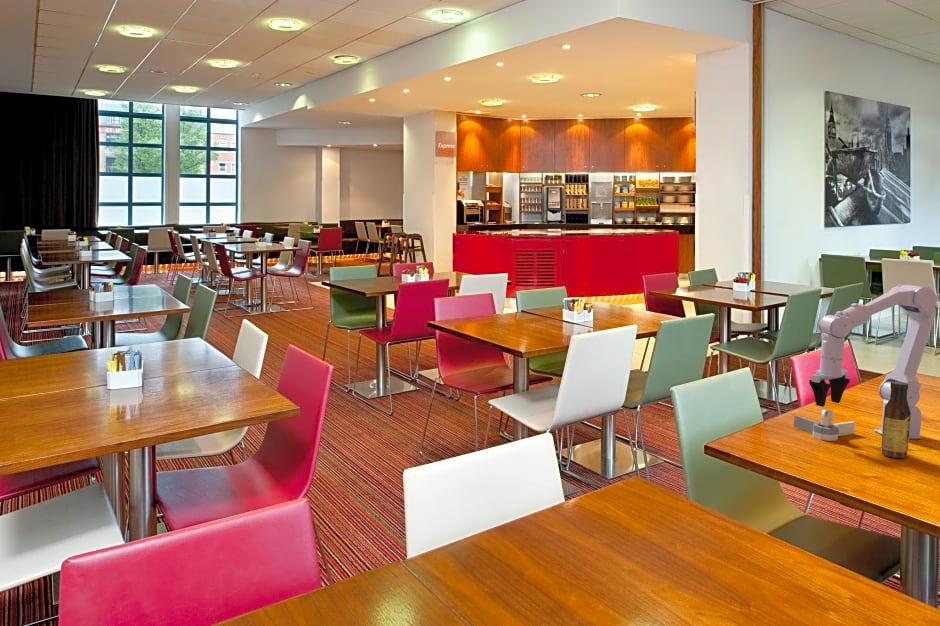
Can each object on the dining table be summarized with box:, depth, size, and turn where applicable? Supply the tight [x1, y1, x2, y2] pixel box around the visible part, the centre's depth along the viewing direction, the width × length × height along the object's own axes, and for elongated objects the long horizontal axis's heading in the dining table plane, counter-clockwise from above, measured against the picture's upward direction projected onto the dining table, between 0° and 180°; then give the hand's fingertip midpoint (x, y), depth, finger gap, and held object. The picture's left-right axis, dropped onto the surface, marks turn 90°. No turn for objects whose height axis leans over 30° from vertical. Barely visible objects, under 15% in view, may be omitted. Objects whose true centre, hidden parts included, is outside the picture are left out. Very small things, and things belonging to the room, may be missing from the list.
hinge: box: [793, 414, 856, 442], centre depth 214 cm, size 14×14×4 cm
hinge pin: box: [820, 408, 834, 428], centre depth 209 cm, size 3×3×8 cm
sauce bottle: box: [880, 382, 911, 459], centre depth 193 cm, size 7×6×20 cm
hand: (827, 404), depth 208 cm, fingers open, 7 cm apart
